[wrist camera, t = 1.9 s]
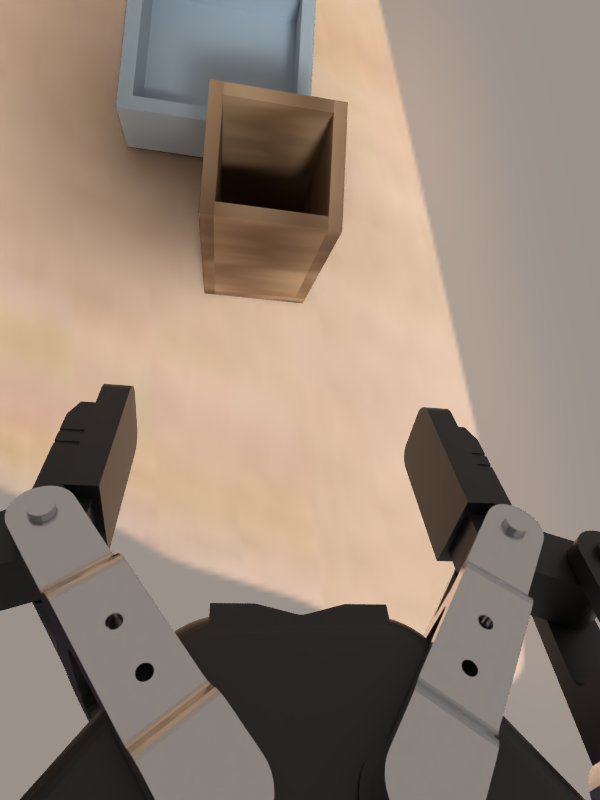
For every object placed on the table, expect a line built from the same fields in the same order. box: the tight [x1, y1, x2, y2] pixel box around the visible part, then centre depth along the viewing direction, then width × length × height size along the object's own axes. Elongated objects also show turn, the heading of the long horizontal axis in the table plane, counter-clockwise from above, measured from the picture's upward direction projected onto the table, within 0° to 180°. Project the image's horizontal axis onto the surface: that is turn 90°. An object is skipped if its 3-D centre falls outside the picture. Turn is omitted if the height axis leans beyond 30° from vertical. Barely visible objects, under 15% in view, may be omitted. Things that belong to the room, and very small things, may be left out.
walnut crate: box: [199, 79, 348, 303], centre depth 26 cm, size 6×6×10 cm
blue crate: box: [116, 0, 316, 157], centre depth 30 cm, size 11×11×4 cm
